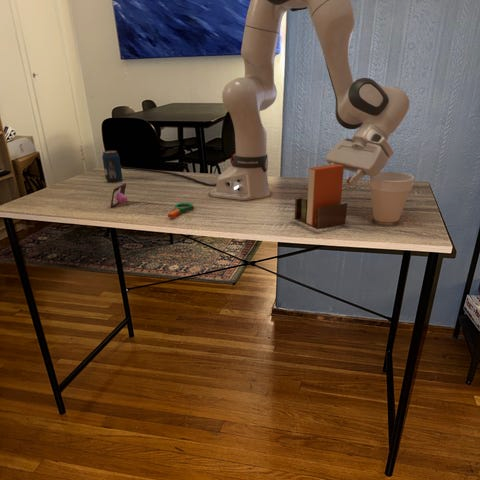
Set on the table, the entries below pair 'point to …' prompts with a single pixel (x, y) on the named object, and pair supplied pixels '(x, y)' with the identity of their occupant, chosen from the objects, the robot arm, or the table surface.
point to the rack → (321, 214)
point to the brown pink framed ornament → (119, 195)
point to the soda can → (112, 166)
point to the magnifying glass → (180, 209)
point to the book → (323, 188)
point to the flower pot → (389, 194)
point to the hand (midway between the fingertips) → (338, 180)
